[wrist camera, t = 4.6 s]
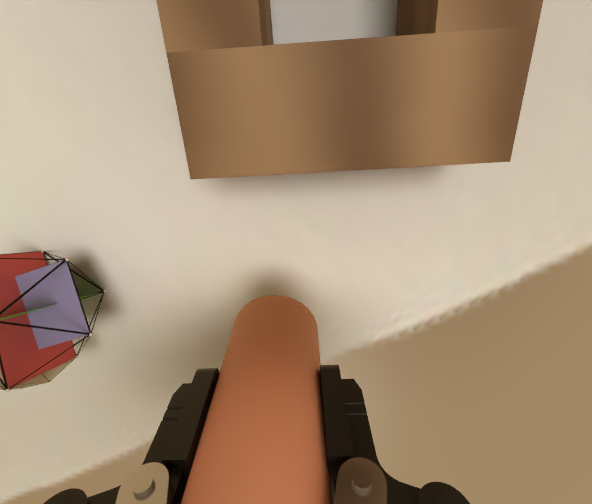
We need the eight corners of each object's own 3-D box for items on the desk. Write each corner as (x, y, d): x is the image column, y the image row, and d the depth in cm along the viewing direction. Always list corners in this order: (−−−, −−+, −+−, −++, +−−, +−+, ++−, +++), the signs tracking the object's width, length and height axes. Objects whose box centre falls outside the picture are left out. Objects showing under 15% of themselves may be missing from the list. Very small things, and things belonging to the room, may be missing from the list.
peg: (239, 364, 16) (164, 687, 7) (229, 297, 15) (116, 603, 6) (317, 362, 16) (344, 687, 7) (316, 293, 15) (346, 600, 6)
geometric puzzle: (-77, 238, 17) (-156, 403, 13) (31, 197, 16) (-20, 364, 12) (50, 286, 23) (22, 408, 19) (133, 259, 22) (122, 383, 18)
